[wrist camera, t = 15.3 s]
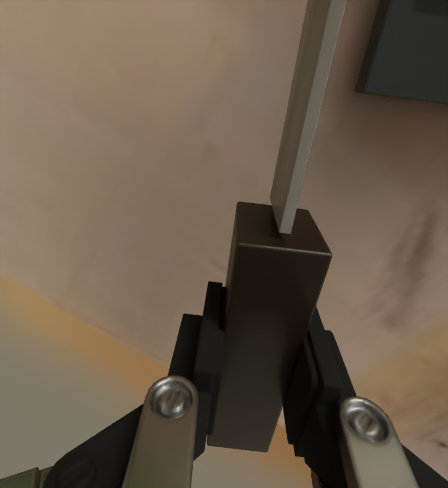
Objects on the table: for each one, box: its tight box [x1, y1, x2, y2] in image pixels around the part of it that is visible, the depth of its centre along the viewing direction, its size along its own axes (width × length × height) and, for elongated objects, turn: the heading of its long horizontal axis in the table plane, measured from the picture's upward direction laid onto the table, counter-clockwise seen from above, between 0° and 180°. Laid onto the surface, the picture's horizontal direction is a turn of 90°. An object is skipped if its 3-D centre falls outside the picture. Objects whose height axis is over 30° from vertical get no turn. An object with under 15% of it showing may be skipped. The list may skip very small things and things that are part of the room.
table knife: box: [207, 0, 347, 452], centre depth 8 cm, size 2×19×3 cm, turn 174°
